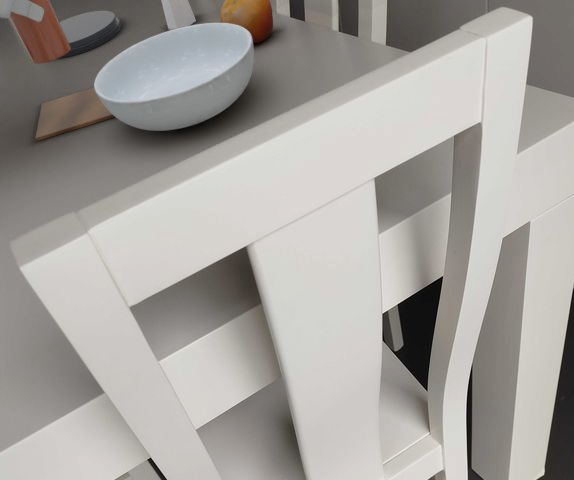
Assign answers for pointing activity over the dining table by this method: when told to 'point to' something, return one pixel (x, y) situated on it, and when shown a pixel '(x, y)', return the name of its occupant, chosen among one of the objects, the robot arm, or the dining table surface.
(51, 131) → the square wooden coaster
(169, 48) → the serving bowl
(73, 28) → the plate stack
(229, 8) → the fruit
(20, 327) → the dining table surface
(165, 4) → the salt shaker
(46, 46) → the tumbler
